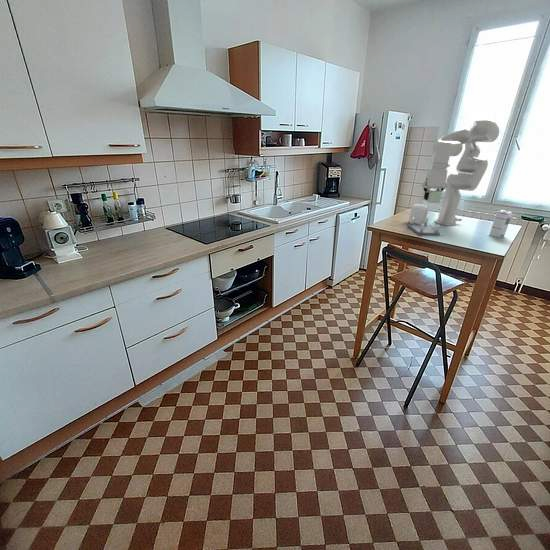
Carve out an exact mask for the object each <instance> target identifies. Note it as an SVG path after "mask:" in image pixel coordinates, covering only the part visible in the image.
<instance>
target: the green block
mask: <svg viewBox="0 0 550 550" xmlns="http://www.w3.org/2000/svg"><path fill="white" fill-rule="evenodd" d="M442 194H443V191H442V192H440V191H437V189H434V188H430V190H429V196H428V200H425V199H424V195H425V191H424V190H423V194H422V197H421V200H422V201H425V202H427V203H430V204H440V202H441V198H442Z"/></svg>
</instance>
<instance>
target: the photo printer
mask: <svg viewBox="0 0 550 550" xmlns="http://www.w3.org/2000/svg"><path fill="white" fill-rule="evenodd" d="M428 213H429V207H428V206H427V205H425V204H422V203H414V204H412V206H411V209H410V213H409V218H408V222H409V223H411V218H412V217H414V222H413V224H418V225H422V224H424V223H425V219H426V218H428V217H427V216H428Z"/></svg>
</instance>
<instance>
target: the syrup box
mask: <svg viewBox="0 0 550 550" xmlns="http://www.w3.org/2000/svg"><path fill="white" fill-rule="evenodd" d="M512 215H513V211H510V210H504V209H501V210H497V211H496V214H495V216H494V219H493V222H492V224H491V225H492V226H491V228H490V232H489V236H492V237H496V238H503V237H504V236H505V235H506V232H507V229H508V226H509V224H510V222H511V221H510V220H511V219H512Z"/></svg>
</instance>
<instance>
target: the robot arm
mask: <svg viewBox="0 0 550 550" xmlns="http://www.w3.org/2000/svg"><path fill="white" fill-rule="evenodd" d="M499 135H500V127H499V126H498V124H497V122H496V121H495V120H493V119H491V118H473V119H469V120H468V121H467V122H466V123H465V124H464V125H463V126H461V127H460V128H459V129H458V130H456V131H453V132H450V133H447V134H445V135H442V136H441V137H440V138H439V139H438V140H436V142H435V143H434V145H433V147H432V153H433V154H434V155H433V160H432V164H431V167H430V168H429V169H428V171H427V173H426V176H425V179H424V181H423V182H422V184H421V185H420V188H422V190H423V192H424V191H425V195H424V199H425V200H428V196H429V190H430V189H434V188H435V189H436V190H437V191H440V192H442V193H443V191H444V195H443V198H442V202H441V206H440V209H439V213H438V217H437V218H436V219H434V223H436V224H438V223H439V224H438V225H441V226H443V225H444V226H456V224H457V222H462V220H463V218H461V217H459V218H458V217H456V215H457V212H458V209H459V205H460V202H461V198H462V196H461V191H467V192H473V191H476V189H477V188H478V187H479V184H480V183H481V180H482V178H483V177H484V175H485V173H486V171H487V168H488V164H489V162H488V159H486V158H485V157H479V156H480V153H481V148H480V146H479V145H478V143H493V142H495V141H496V140H497V139H498V137H499ZM463 145H464V151H463ZM462 151H463V153H462ZM461 153H462V155H461V157H460V159H459V161H458V162H457V165H456V169H455V170H456V171H457V172H453V173H450V174H448V168H450V164H449V161H450V157H458V156H459V155H460V154H461ZM425 200H424V201H425Z"/></svg>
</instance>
